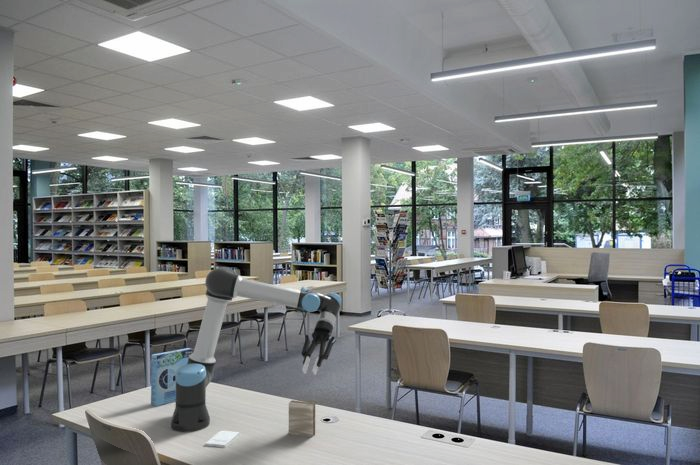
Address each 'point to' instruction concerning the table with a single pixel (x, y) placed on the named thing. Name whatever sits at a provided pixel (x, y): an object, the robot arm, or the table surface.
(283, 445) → the table surface
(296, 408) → the walnut tile
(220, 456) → the table surface
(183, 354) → the gum box
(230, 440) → the external hard drive
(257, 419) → the table surface
